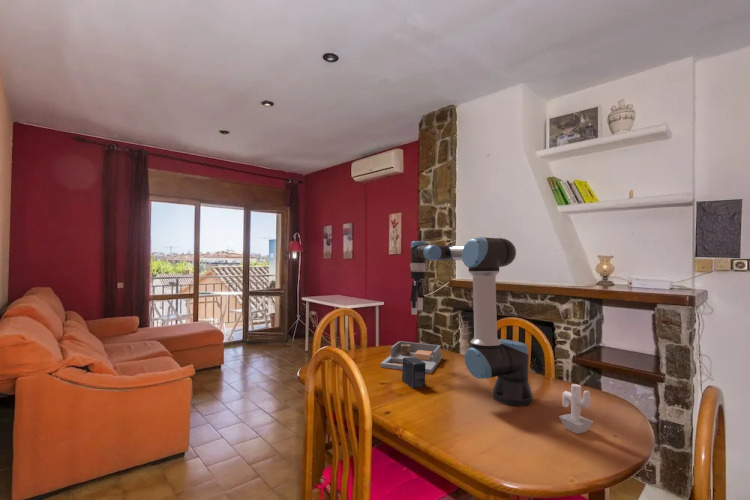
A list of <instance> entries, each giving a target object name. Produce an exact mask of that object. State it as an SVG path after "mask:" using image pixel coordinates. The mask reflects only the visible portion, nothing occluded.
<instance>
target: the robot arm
mask: <svg viewBox="0 0 750 500" xmlns="http://www.w3.org/2000/svg"><path fill="white" fill-rule="evenodd" d="M516 256H517V249H516V246H515V245H514V243H513V242H512V241H510V240H508V239H506V238H502V237H483V236H481V237H472V238H470V239H469V240H467V241H466V243H465V244H457V245H456V244H453V245H451V244H450V245H449V244H448V245H445V244H444V245H443V244H437V245H436V244H427V243H426V241H425V240H424V241H423V240H416V241H415V240H413V241H411V242H410V264H409V267H410V270H411V271H410V279H413V280H414V281H413V280H412V281H411V284H412V285H411V292H410V299H409V302H411V309H410V311H411V315H415V316H416V315H418V311H423V310H424V308H423V306H424V299H425V293H424V283H423V282H424V280H425V279H426V261H431V262H433V261H462V262H463V264H464V266H465V267H467V268H468V273H469V274H470V275H471V276H472V292H473V293H472V294H473V295H472V297H473V301H472V302H473V332H474V333H473V338H472V339H470V341H469V342H470V347H468V348H467V349H466V351H465V353H464V356H463V357H464V364H465V367H466V368H467V370H468V372H469V373H470V374H471V376H473V377H475V378H476V379H480V380H484V379H486V380H487V379H491V378H495V377H497V378H496V381H495V384H494V386H493V389H492V397H493V399H495V401H497V402H499V403H501V404H505V405H508V406H515V407H517V406H518V407H524V406H529V405H531V404H533V401H534V395H533V392H532V388H531V386H530V383H529V362H530V361H529V360H530V354H529V347H528V345H527V344H526V343H525V342H523V341H522V342H521V341H517V340H513V339H505V338H504V339H503V338H499V337H498V321H497V319H498V318H497V289H496V288H497V285H496V284H497V283H496V281H497V279H496V277H497V275H498V274H499V273H500V268H502V267H506V266H509V265H510V264H512V263H513V262H514V260H515V259H516Z"/></svg>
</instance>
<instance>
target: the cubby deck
mask: <svg viewBox="0 0 750 500" xmlns="http://www.w3.org/2000/svg"><path fill="white" fill-rule="evenodd" d="M401 344H410V356H408V355H401ZM418 350H424V351H433V357H432V358H431V359H430V361H425V360H421V361H423V362H424V363H426V364H425V374H432V373H433V372H434V370H435V369H436V368H437V366H438V365H439V363H440V362H441V361H442V360H443V354H441V345H440V344H432V343H431V344H429V343H421V342H411V341H410V342H409V341H402V340H400V341H399V340H398V341H397V342H396V343H395V344H393V345H391V347H390V355H389V356H388V357H386V358H385V359H384V360H383V361H382V362H380V368H383V369H384V368H385V369H391V368H392V370H400V371H403V358H409V357H414V353H415V352H416V351H418ZM399 363H400V364H399Z"/></svg>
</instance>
